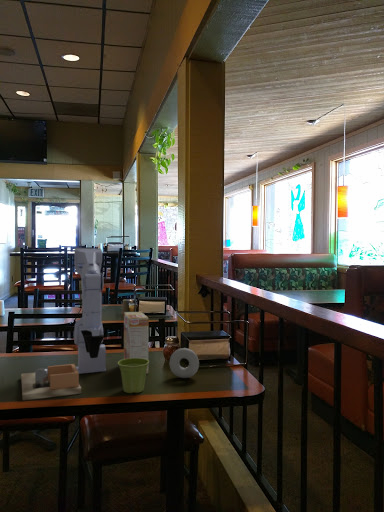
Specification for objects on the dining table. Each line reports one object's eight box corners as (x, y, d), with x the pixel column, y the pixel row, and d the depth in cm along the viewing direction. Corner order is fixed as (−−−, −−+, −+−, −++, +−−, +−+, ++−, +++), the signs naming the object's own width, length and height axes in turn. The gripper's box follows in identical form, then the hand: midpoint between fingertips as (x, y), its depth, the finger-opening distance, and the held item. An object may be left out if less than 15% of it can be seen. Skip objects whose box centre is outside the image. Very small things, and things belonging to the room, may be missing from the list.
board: (71, 373, 142) (71, 368, 142) (81, 393, 122) (81, 387, 122) (21, 378, 136) (21, 373, 136) (22, 400, 116) (22, 394, 116)
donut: (199, 377, 139) (199, 347, 139) (198, 380, 136) (198, 349, 136) (170, 376, 140) (170, 346, 140) (168, 379, 137) (168, 348, 137)
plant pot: (135, 397, 119) (135, 367, 119) (111, 391, 124) (111, 362, 124) (155, 388, 127) (155, 360, 127) (131, 383, 132) (131, 356, 132)
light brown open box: (73, 376, 133) (73, 363, 133) (78, 386, 123) (78, 372, 123) (47, 379, 130) (47, 366, 130) (50, 389, 120) (50, 375, 120)
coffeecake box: (123, 364, 155) (123, 312, 155) (141, 362, 157) (142, 311, 157) (128, 375, 141) (128, 318, 141) (148, 373, 143) (149, 317, 143)
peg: (45, 386, 127) (45, 367, 127) (49, 389, 124) (49, 369, 124) (33, 389, 125) (33, 369, 125) (37, 392, 122) (37, 371, 122)
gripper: (76, 309, 135) (76, 350, 135) (82, 315, 122) (81, 361, 122) (98, 308, 138) (97, 349, 138) (106, 314, 125) (105, 359, 125)
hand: (91, 354), depth 130 cm, fingers open, 7 cm apart
